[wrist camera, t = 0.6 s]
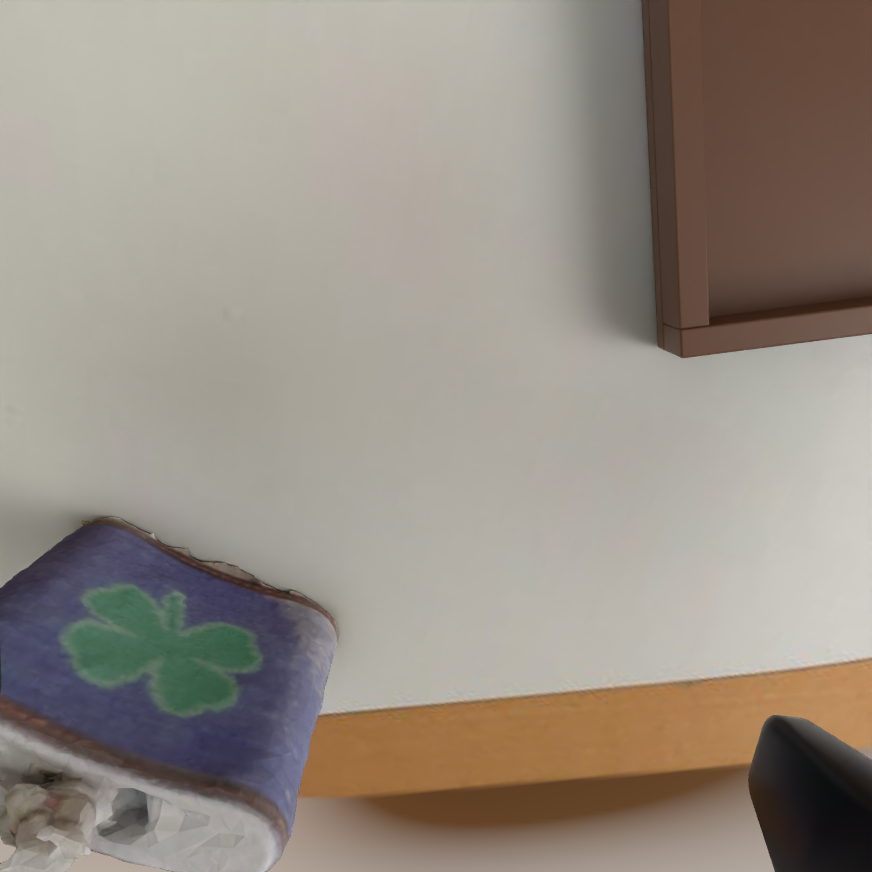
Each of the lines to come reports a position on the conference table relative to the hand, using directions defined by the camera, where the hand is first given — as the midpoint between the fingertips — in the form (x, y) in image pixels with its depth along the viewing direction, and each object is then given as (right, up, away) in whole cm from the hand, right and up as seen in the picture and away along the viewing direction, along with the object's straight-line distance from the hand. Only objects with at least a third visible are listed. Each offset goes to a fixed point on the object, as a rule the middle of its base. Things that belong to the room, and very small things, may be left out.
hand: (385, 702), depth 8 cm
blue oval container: (-7, -2, +15) cm, 17 cm away
